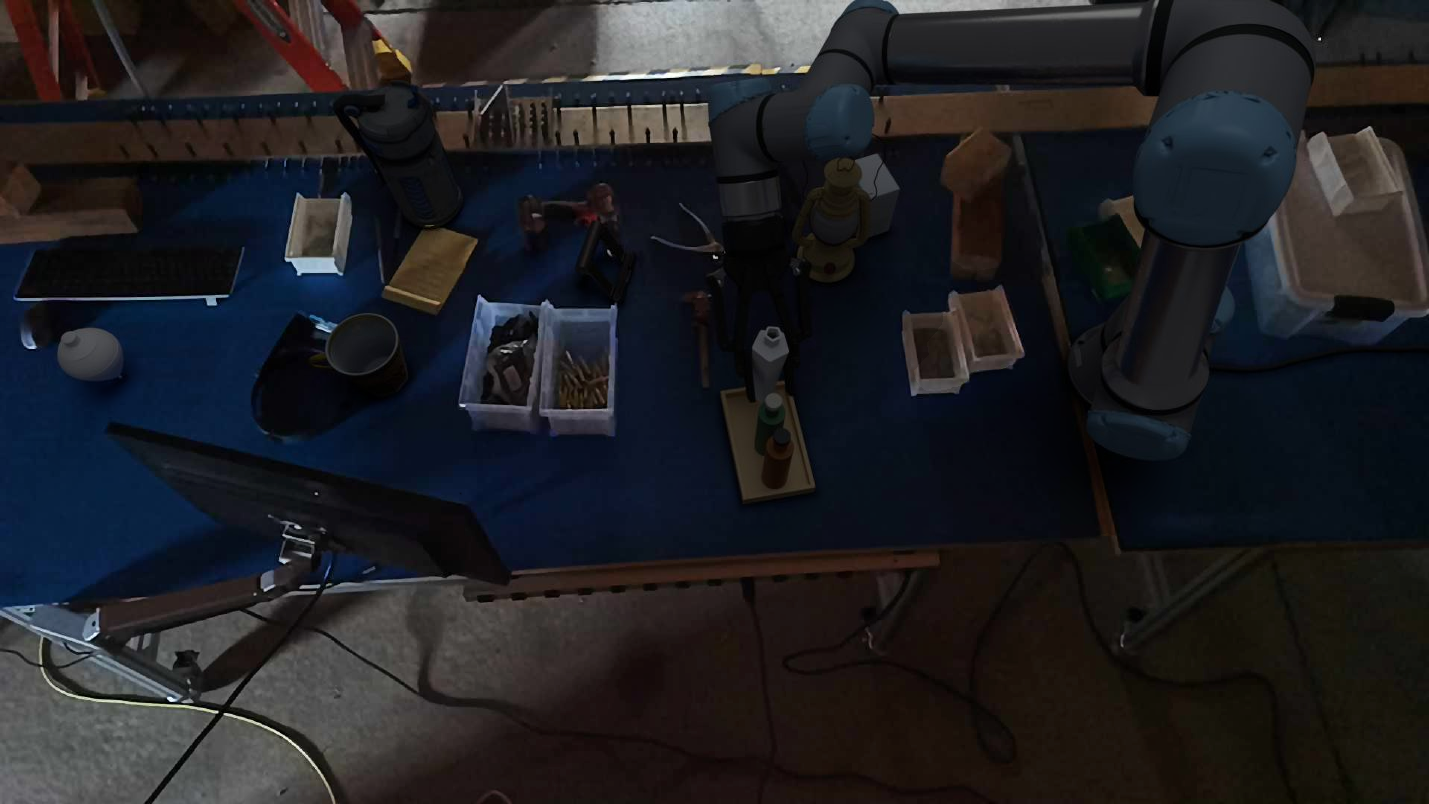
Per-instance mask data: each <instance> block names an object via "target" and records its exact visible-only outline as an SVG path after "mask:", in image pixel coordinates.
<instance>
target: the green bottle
mask: <svg viewBox="0 0 1429 804" xmlns="http://www.w3.org/2000/svg"><path fill="white" fill-rule="evenodd" d="M785 415H786V411H785V408H784V406H783V405H782V398H781V396H780V395H779V394H776V393H771V394H769V395H767V397H766V399H765V402H764V403H762V404H761V405H760V407H759V410H758V418H757V426H756V435H755V443H754V447H755V450H756V451H757V453H759V454H760V455H762V456H765V450H766V444H767V441H768V439H769V438H770V437H772V436H773V435H774V432H775V431H776V430H777V429H779V428H783V425H784V420H785Z"/></svg>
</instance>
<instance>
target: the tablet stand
mask: <svg viewBox="0 0 1429 804" xmlns="http://www.w3.org/2000/svg"><path fill="white" fill-rule="evenodd" d="M600 240H602V241H603V242H604V244H606V246H607V247H608V248H609V250H610V251H611V252H612V254H613V255H614V256H615V257H616V259H617V260H618V261H619V262H620V265H621V268H620V271H619V275H618V278H617V281H616V283H615V286H614V285H613V284H612V283H611V282H610V280H609V279H608V278H607V276H606V275H605V274H604V273H603V272H602V271H601V270H600V268H599V267H598V266H597V265H596V264H595V263H594V258H595V256H596V253H597V250H598V247H599V244H600ZM636 260H637V253H636V250H635V251H634V250H633V251H632V252H631V253H627V252H626V251H624V249H623V248H622V246H621V245H620V244H619V242H618V241H617V240H616V239H615V237H614V236H613V235H612V234H611V232H610V231H609V229H608V228H607V227H606V226H605V225H604V223H603V222H601V221H600V220H591V221H590V223H589V226H588V228H587V232H586V234H585V237H584V240H583V243H582V247H581V249H580V251H579V254H578V257H577V261H576V264H575V266H574V271H575V272H576V273H578V274H579V275H580V276H579V280H578V284H579V285H581V283H582V281H583V280H584V277H585V276H590V277H592V279H593V280H594V281H595V283H596V284H597V285H598V286H599V287H600V288H601V289H602V291H603V292H604V293H605V294H606V295H607V297H608V298H609V300H611V301H612V302H613V303H616V304H620V303H622V302H623V301H624V297H625V294H626V291H627V287H628V284H629V282H630V280H631V279H630V278H631V276H632V273H633V269H634V265H635V262H636Z"/></svg>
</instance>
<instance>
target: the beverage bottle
mask: <svg viewBox="0 0 1429 804" xmlns="http://www.w3.org/2000/svg"><path fill="white" fill-rule="evenodd" d="M389 83H390V84H391V85H388V86H387V85H386V86H382V87H380V88H377V89H375V90H373V91H371V92H370V93H368V94H366V95H362V94H359V93H350V94H343V95H340V97H338V98H337V99H336V100H335V101H334V102H333V103H332V110H333V112H334V114H335V117H336V118H337V119H338V121H339V123H340V124H341V125H342V127H343V128H344V129H345V130H346V132H347V133H348V134H349V135H350V137H351V138H352V139H353V140H354V142H355V143H356V144H357V145H358V147H359V148H360V149H361V150H362V152H363V153H364V154H365V156H366V157H367V158H368V159H369V161H370V163H371V164H372V166H373V168H374V170H375V172H376V174H377V175H378V178H379V180H380V186H379V187H380V188H379V189H380V190H382V189H384V187H385V186H386V185H387V187H388V189H389V190H390V193H391V195H392V197H393V198H394V201H395V203H396V205H397V207H398V209H399V211H400V212H401V215H402V216H403V217H404V218H405V219H406V220H407V221H408V222H409V223H411V224H413V225H415V226H418V227H421V228H425V227H424V226H425V225H434V226H435V227H434V228H438V227H441V226H444V225H446V224H448V223H450V222H451V221H452V220H453V219H455V217H457V215H458V214H459V212H460V210H461V207H462V205H463V198H464V197H463V193H462V190H461V187H460V185H459V182H458V179H457V177H456V174H455V171H454V169H453V167H452V164H451V161H450V158H449V157H448V153H447V150H446V149H445V146H444V143H443V141H442V138H441V136H440V133H439V131H438V130H437V128H436V124H435V121H434V114H435V113H434V111H435V110H434V107H433V104H432V101H431V99H430V96H429V95H428V94H427V93H426V92H425V91H424V90H423V89H422V88H421V87H419V86H418V85H415V84H412V83H411V82H409V81H405V80H399V79H390V80H389ZM353 119H355V120H356V124H357V125H356V124H355V122H354V121H353Z"/></svg>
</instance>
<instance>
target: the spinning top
mask: <svg viewBox="0 0 1429 804" xmlns="http://www.w3.org/2000/svg"><path fill="white" fill-rule="evenodd" d="M56 358H57V362H58V364H59V367H60V368H61V369H62V371H64V373H65V374H67V375H68V376H70V377H71V378H74V379H77V380H80V381H86V382H103V381H109V380H113V379H116V378H118V379H120V380H121V379H123V376H122V375H121V374H122V371H123V366H124V353H123V347H122V345H121V343H120V341H119V340H118V339H117V337H116V336H115V335H113V334H112V333H110V332H109V331H107V330H105V329H102V328H97V327H84V328H77V329H75V330H73V331H66V332H64V333H63V334H62V335H61V338H60V342H59V344H58V347H57V357H56Z"/></svg>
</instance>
